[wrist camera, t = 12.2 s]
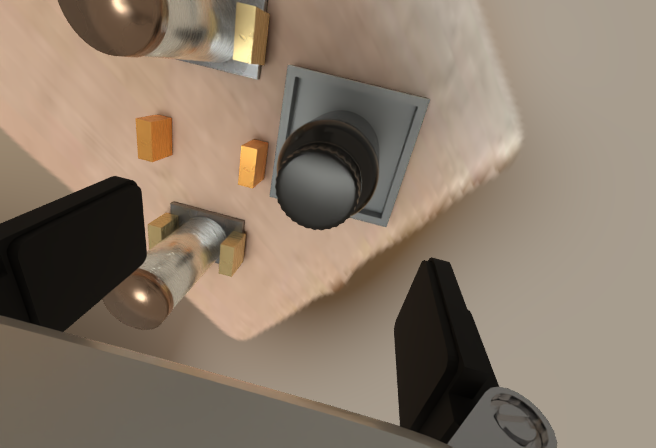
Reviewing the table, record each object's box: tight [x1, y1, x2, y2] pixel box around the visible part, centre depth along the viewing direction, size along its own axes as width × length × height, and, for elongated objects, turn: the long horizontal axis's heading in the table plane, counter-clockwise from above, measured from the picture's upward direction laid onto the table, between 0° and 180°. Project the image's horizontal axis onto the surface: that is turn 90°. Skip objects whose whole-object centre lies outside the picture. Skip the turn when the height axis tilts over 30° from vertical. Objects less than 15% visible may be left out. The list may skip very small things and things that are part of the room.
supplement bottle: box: [275, 110, 379, 230], centre depth 22 cm, size 7×7×12 cm
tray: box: [270, 65, 430, 227], centre depth 27 cm, size 11×11×2 cm
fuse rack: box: [58, 0, 270, 330], centre depth 25 cm, size 26×11×12 cm, turn 168°
